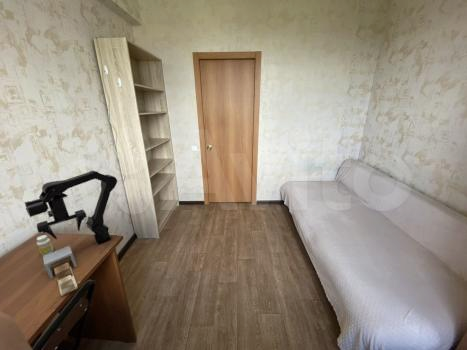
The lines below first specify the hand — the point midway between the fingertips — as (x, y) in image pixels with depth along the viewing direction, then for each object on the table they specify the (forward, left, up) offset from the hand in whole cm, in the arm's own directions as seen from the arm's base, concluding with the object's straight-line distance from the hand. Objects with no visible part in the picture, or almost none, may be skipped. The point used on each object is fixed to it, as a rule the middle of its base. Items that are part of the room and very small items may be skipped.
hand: (67, 234), depth 103 cm
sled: (+6, +20, -12) cm, 24 cm away
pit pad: (+6, 0, -12) cm, 13 cm away
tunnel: (+6, +8, -12) cm, 16 cm away
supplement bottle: (+10, -13, -12) cm, 20 cm away
